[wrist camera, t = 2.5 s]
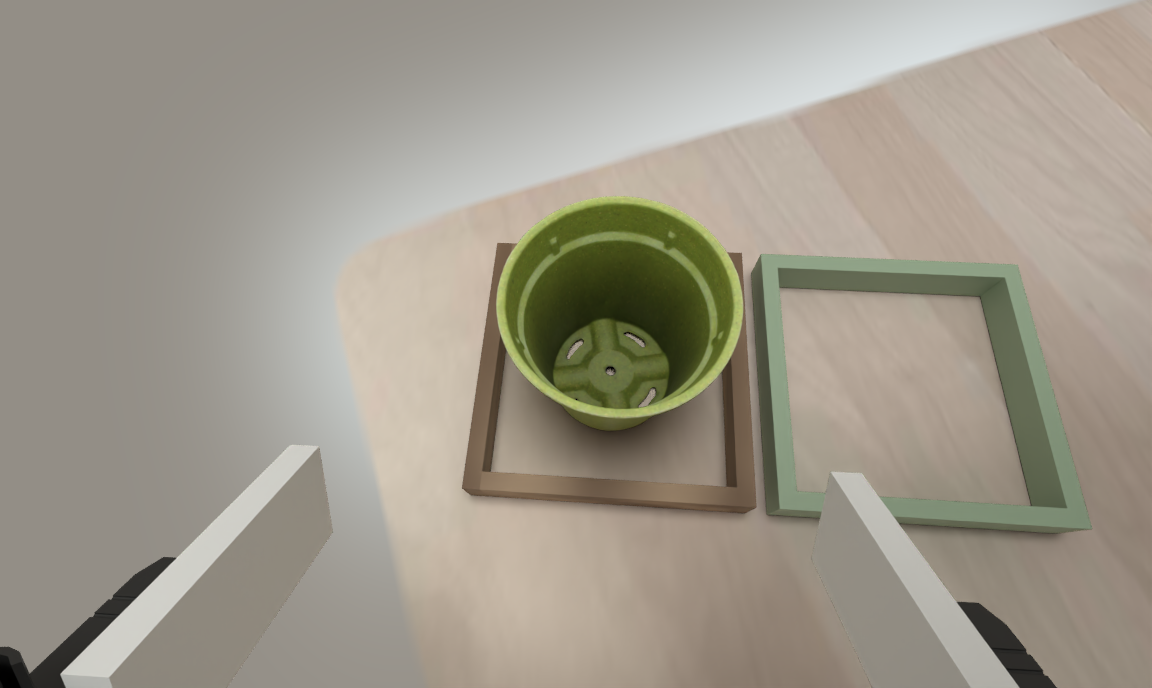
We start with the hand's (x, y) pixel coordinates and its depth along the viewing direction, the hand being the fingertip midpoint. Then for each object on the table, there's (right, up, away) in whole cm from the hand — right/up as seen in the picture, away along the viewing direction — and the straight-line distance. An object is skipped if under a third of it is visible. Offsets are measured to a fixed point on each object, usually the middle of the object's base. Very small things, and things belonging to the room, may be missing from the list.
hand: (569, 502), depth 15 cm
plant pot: (+2, +2, +15) cm, 15 cm away
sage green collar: (+16, +2, +14) cm, 21 cm away
